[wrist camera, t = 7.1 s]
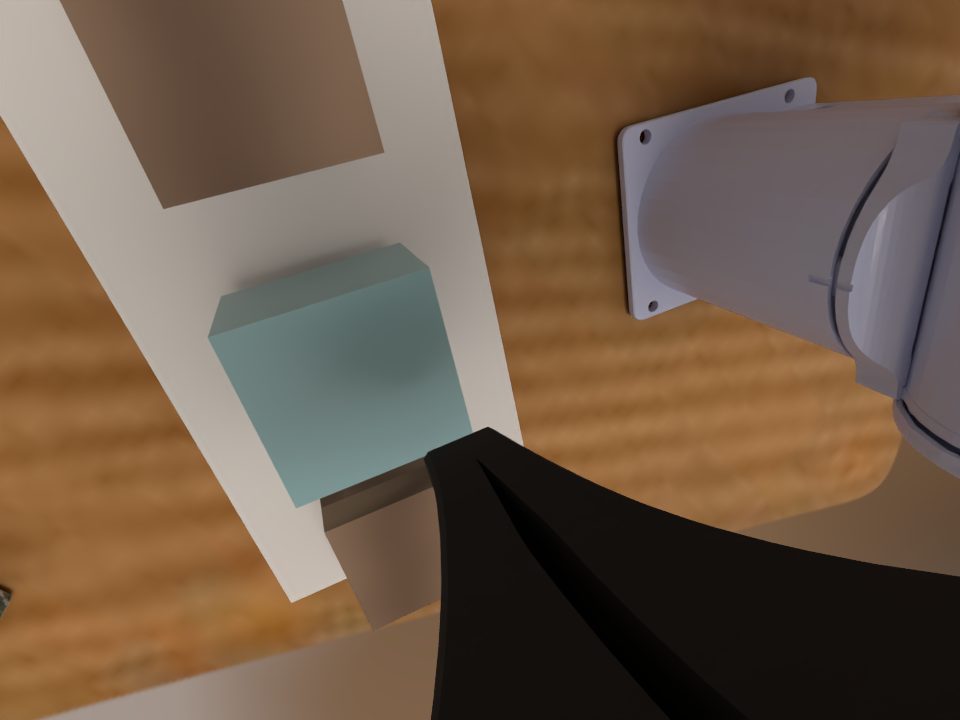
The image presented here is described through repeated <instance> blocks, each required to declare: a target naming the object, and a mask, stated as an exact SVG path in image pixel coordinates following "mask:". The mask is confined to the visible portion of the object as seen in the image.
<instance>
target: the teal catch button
mask: <svg viewBox="0 0 960 720" xmlns="http://www.w3.org/2000/svg"><path fill="white" fill-rule="evenodd" d="M208 339H209V341H210V343H211V345H212V347H213V349H214V351H215V353H216V355H217V357H218V359H219V361H220V362H221V364H222V366H223V368H224V370H225V372H226V374H227V376H228V378H229V380H230V382H231V384H232V386H233V388H234V389H235V391H236V393H237V395H238V397H239V399H240V401H241V403H242V405H243V407H244V409H245V411H246V413H247V415H248V417H249V418H250V420H251V422H252V424H253V426H254V428H255V430H256V432H257V434H258V436H259V438H260V440H261V442H262V444H263V445H264V447H265V449H266V451H267V453H268V455H269V457H270V459H271V461H272V463H273V465H274V467H275V469H276V471H277V472H278V474H279V476H280V478H281V480H282V482H283V484H284V486H285V488H286V490H287V492H288V494H289V496H290V498H291V499H292V501H293V503H294V505H295V507H296V508H299V507H301V506H303V505H306V504H308V503H311V502H313V501H316V500H318V499H321V498H323V497H326V496H328V495H331V494H333V493H335V492H338V491H340V490H343V489H345V488H348V487H350V486H353V485H355V484H358V483H360V482H363V481H365V480H367V479H370V478H372V477H375V476H377V475H380V474H382V473H385V472H387V471H390V470H392V469H395V468H397V467H399V466H402V465H404V464H407V463H409V462H412V461H414V460H417V459H419V458H422V457H424V456H426V454H427V452H429V451H431V450H433V449H436V448H438V447H441V446H443V445H445V444H448V443H450V442H452V441H455V440H457V439H459V438H462V437H464V436H467V435H469V434H471V433H473V431H472V427H471V423H470V420H469V416H468V412H467V408H466V404H465V401H464V397H463V393H462V389H461V386H460V382H459V378H458V374H457V370H456V367H455V363H454V359H453V355H452V351H451V348H450V344H449V340H448V336H447V333H446V329H445V325H444V321H443V317H442V314H441V310H440V306H439V302H438V298H437V295H436V291H435V287H434V283H433V280H432V276H431V272H430V268H429V267H428V266H427V265H426V264H425V263H423V262H422V261H421V260H420V259H419V258H418V257H416V256H415V255H414V254H413V253H412V252H410V251H409V250H408V249H407V248H406V247H405V246H403V245H402V244H401V243H396V244H393V245H390V246H386V247H383V248H380V249H376V250H373V251H370V252H366V253H363V254H360V255H356V256H353V257H350V258H346V259H343V260H340V261H337V262H333V263H330V264H327V265H323V266H320V267H317V268H313V269H310V270H307V271H303V272H300V273H297V274H293V275H290V276H287V277H283V278H280V279H277V280H273V281H270V282H267V283H263V284H260V285H257V286H253V287H250V288H247V289H243V290H240V291H237V292H233V293H230V294H227V295H223V296H221V298H220V301H219V304H218V307H217V310H216V313H215V316H214V319H213V322H212V326H211V329H210V332H209V335H208Z"/></svg>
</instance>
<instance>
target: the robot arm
mask: <svg viewBox="0 0 960 720" xmlns="http://www.w3.org/2000/svg"><path fill="white" fill-rule="evenodd" d="M816 91H817V84H816V81H815V79H814V78H812V77H807V78H800V79H797V80H793V81H789V82H786V83H782V84H779V85H775V86H771V87H768V88H764V89H760V90H757V91H753V92H749V93H746V94H742V95H739V96H735V97H731V98H728V99H724V100H720V101H717V102H713V103H709V104H706V105H702V106H699V107H695V108H691V109H688V110H684V111H680V112H677V113H673V114H669V115H666V116H662V117H659V118H655V119H651V120H648V121H644V122H640V123H637V124H633V125H629V126H627V127H625V128H623V129H622V131H621V132H620V134H619V136H618V143H617V144H618V158H619V172H620V186H621V200H622V215H623V229H624V243H625V257H626V271H627V286H628V300H629V312H630V315H631V316H632V317H633V318H635V319H637V320H644V319H647V318H649V317H652V316H655V315H657V314H660V313H663V312H665V311H668V310H670V309H673V308H676V307H678V306H681V305H684V304H686V303H689V302H691V301H694V300H697V299H700V300H702V301H705V302H708V303H710V304H713V305H715V306H718V307H721V308H723V309H726V310H728V311H731V312H734V313H736V314H739V315H742V316H744V317H747V318H749V319H752V320H755V321H757V322H760V323H762V324H765V325H768V326H770V327H773V328H775V329H778V330H781V331H783V332H786V333H788V334H791V335H794V336H796V337H799V338H801V339H804V340H807V341H809V342H812V343H814V344H817V345H820V346H822V347H825V348H827V349H830V350H833V351H835V352H838V353H840V354H843V355H846V356H848V357H851V358H853V359H854V360H855V363H856V383H858V384H861V385H863V386H865V387H868V388H870V389H872V390H875V391H877V392H880V393H882V394H884V395H887V396H889V397H891V398H894V401H893V405H892V409H893V418H894V421H895V423H896V425H897V427H898V430H899V431H900V432H901V434H902V435H903V436H904V438H905V439H906V440H907V441H908V442H909V443H910V444H911V445H912V446H913V447H914V448H915V449H916V450H917V451H919V452H920V453H921V454H922V455H923V456H925V457H926V458H928V459H929V460H930V461H932V462H933V463H935V464H936V465H938V466H939V467H941V468H942V469H944V470H946V471H947V472H949V473H951V474H953V475H955V476H956V477H958V478H960V95H948V96H932V97H915V98H898V99H881V100H864V101H847V102H831V103H815V101H816ZM785 94H786V98H785ZM642 131H644V134H645V138H644V141H643V142H642V143H641V142H640V134H641V132H642ZM650 302H652V306H651V307H650V308H649V309H648V306H649V304H650ZM424 462H425V465H426V468H427V471H428V474H429V477H430V480H431V483H432V486H433V489H434V492H435V497H436V503H437V512H438V522H439V532H440V551H441V611H440V631H439V647H438V658H437V668H436V678H435V689H434V699H433V706H432V715H431V720H960V577H959V576H952V575H945V574H939V573H932V572H925V571H918V570H912V569H905V568H898V567H892V566H884V565H878V564H872V563H867V562H861V561H856V560H851V559H846V558H841V557H836V556H831V555H826V554H821V553H816V552H811V551H806V550H802V549H797V548H793V547H789V546H784V545H780V544H776V543H771V542H767V541H764V540H760V539H756V538H752V537H748V536H745V535H741V534H737V533H734V532H730V531H726V530H722V529H719V528H715V527H712V526H708V525H705V524H702V523H699V522H695V521H692V520H689V519H686V518H683V517H680V516H677V515H674V514H671V513H668V512H666V511H663V510H660V509H657V508H654V507H651V506H648V505H646V504H643V503H640V502H638V501H635V500H633V499H630V498H628V497H626V496H623V495H621V494H619V493H616V492H614V491H612V490H609V489H607V488H605V487H602V486H600V485H598V484H596V483H594V482H591V481H589V480H587V479H585V478H583V477H581V476H579V475H577V474H575V473H573V472H571V471H569V470H567V469H565V468H563V467H561V466H559V465H557V464H555V463H553V462H551V461H549V460H547V459H545V458H543V457H542V456H540V455H538V454H536V453H534V452H532V451H531V450H529V449H527V448H525V447H523V446H522V445H520V444H518V443H516V442H515V441H513V440H511V439H510V438H508V437H506V436H504V435H503V434H501V433H499V432H498V431H496V430H494V429H492V428H490V427H486V428H483V429H481V430H478V431H476V432H474V433H471V434H469V435H467V436H464V437H462V438H459V439H457V440H455V441H452V442H450V443H448V444H445V445H443V446H441V447H438V448H436V449H433V450H431V451H429V452H427V454H426V456H425V458H424Z"/></svg>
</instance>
